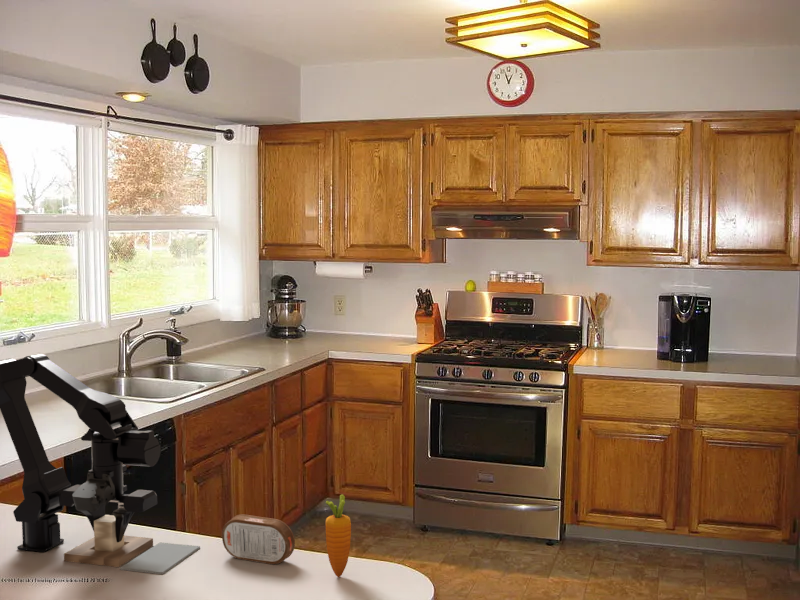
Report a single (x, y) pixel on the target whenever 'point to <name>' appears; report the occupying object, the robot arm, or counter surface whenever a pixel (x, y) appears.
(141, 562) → the mat
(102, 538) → the block
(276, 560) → the tin
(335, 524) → the carrot
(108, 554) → the pocket board
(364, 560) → the counter surface
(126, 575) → the counter surface
